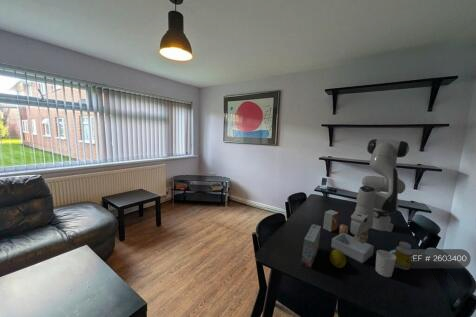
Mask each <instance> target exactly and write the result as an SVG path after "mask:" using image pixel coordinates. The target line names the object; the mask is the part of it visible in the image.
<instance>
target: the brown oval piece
mask: <svg viewBox="0 0 476 317" xmlns="http://www.w3.org/2000/svg"><path fill="white" fill-rule="evenodd" d="M348 230H349V226H348V225H346V224H343V223H342V224H340V225H339V231H338V235H340V234H342V233H345V234H347V235H348V233H349V231H348Z"/></svg>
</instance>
